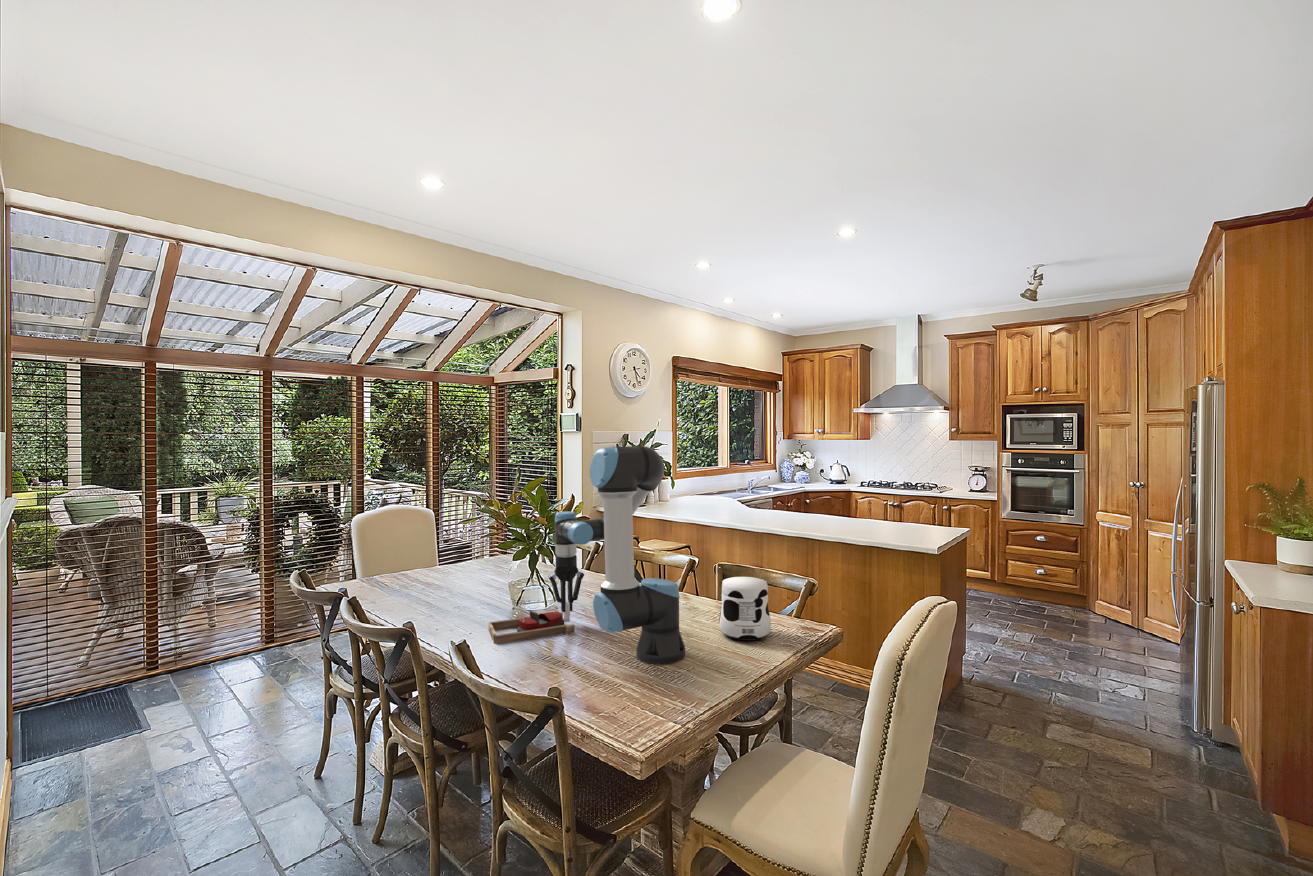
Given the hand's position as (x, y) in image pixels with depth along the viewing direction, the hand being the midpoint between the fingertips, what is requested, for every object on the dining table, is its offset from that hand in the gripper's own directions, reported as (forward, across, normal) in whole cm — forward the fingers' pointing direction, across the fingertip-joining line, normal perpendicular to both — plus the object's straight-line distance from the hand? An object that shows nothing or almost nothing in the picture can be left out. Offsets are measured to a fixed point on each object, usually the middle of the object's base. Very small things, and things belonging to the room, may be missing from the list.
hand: (567, 620), depth 207 cm
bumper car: (+2, +10, 0) cm, 11 cm away
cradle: (+2, +13, 0) cm, 13 cm away
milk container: (+2, -52, +36) cm, 63 cm away
